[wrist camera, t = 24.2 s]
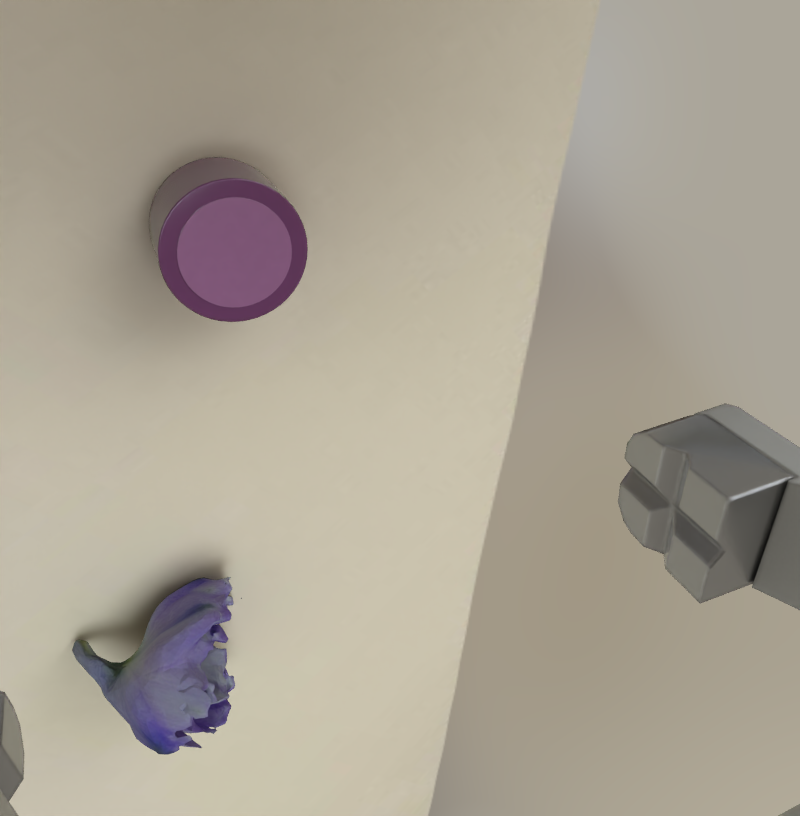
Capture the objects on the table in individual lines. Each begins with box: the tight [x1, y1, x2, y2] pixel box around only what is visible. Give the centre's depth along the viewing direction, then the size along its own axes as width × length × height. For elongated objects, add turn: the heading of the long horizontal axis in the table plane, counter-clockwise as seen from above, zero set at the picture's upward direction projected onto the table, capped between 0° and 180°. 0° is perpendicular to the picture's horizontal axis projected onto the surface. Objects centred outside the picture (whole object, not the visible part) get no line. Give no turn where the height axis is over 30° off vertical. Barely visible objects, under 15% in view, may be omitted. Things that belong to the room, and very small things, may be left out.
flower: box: [72, 577, 242, 754], centre depth 39 cm, size 9×9×10 cm
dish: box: [149, 157, 308, 322], centre depth 29 cm, size 6×6×4 cm
